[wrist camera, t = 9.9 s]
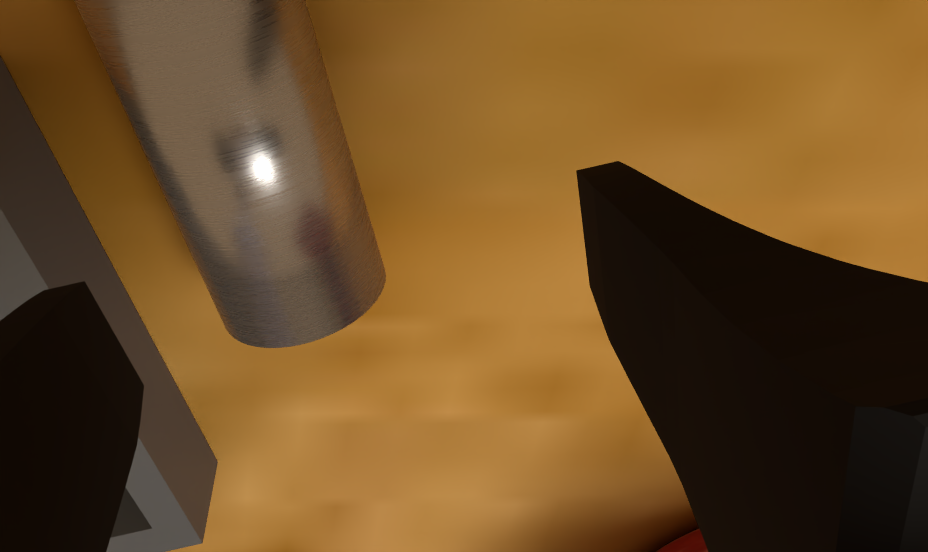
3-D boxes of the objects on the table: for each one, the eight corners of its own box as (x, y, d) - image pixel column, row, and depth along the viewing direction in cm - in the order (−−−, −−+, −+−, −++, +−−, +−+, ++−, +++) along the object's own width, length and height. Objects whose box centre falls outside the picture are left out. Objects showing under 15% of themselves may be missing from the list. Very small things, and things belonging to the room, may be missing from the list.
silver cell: (413, 295, 18) (249, 373, 17) (349, 228, 21) (206, 290, 20) (300, -112, 13) (56, -43, 12) (238, -122, 16) (40, -68, 15)
